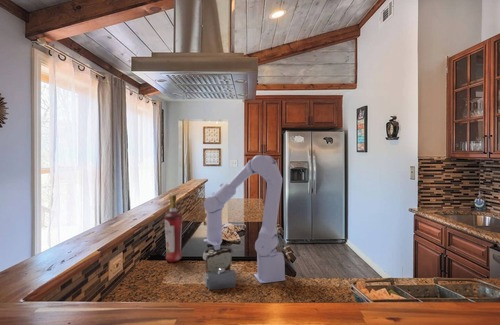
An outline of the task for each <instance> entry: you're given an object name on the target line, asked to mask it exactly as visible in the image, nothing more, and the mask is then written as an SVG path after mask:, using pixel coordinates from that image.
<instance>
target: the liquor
mask: <svg viewBox="0 0 500 325" xmlns="http://www.w3.org/2000/svg"><path fill="white" fill-rule="evenodd" d="M182 224H183V215H181V214H180V213H178V212H177V194H170V195H169V213H167V214H166V215H164V234H165V235H164V236H165V248H166V250H165V252H166V256H165V260H166V261H168V262H169V263H176V262H179V261H180V260H181V259H182V258H183V256H182V232H183V231H182V230H183V229H182V228H183V225H182Z"/></svg>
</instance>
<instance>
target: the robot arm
mask: <svg viewBox="0 0 500 325" xmlns="http://www.w3.org/2000/svg"><path fill="white" fill-rule="evenodd" d="M252 175H259V176H260V177H262V179H264V181H265V182H266V191H265V192H266V193H265V194H266V195H265V200H264V208H263V214H262V221H261V222H262V223H261V228H260V230H259V232H258V237H257V239H256V240H255V243H254V249H255V251H256V256H257V257H256V261H257V262H256V263H257V265H256V267H257V269H256V270H257V272H256V273H254V274H253V276H254V277H255V279H256V280H257V281H258V283H259V284H267V283H274V282H281V281H283V282H284V281H286V280H287V279H286V277H285V276H286V272H285V271H286V269H285V267H286V266H285V265H286V264H285V263H286V262H285V257H284V254H283V253H282V252H281V251H278V250H277V247H278V246H279V243H280V241H279V237H278V228H277V224H278V217H279V208H280V201H281V194H282V188H283V177H282V174H281V171H280V168H279V166H278V162H277V161H276V159H274V158H273V157H272V156H270V155H262V154H257V155H255V156H254V157H252V159H249V161H248V162H247V163H246V164H245V165H244V166H243V167H242V168H241V169H240V170H239V172H238V173H237V174H235V176H234V177H233V178H232V179H231V180H230V182H224V183H221V184H219V188H218V189H217V190H216V191H215V192H212V194H211V195H212V196H208V197H206V198H205V200H204V202H203V207H204V210H205V211H206V239H205V238H204V239H203V243H207V244H206V247H207V248H209V247H213V246H214V249H215V250H219V249H220V246H223V244H222V242H223V229H222V228H223V227H222V226H223V225H222V222H223V221H222V220H223V219H222V218H223V217H222V215H223V214H222V211H223V208H224V207H225V204H226V203H227V202H228V201H229V200H231V199H232V198H233V197H234V195H236V193H237V188H239V187H240V186H241V185H242V184H243V183H244V182H245V181H246V180H247V179H249V178H250V177H251V176H252Z"/></svg>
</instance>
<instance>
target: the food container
mask: <svg viewBox="0 0 500 325" xmlns="http://www.w3.org/2000/svg"><path fill="white" fill-rule="evenodd" d="M233 253H234V249H233V247H232V246H228V245H222V246H220V249H219V250H215V249H214V246H213V247H209V248H208V247H207V248H206V249H205V250H204V251H203V253H202V254H203V255H202V259H203V260H204V266H205V273H208V272H217V271H218V268H225V270H231V269H232V268H231V267H232V257H233Z"/></svg>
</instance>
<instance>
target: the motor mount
mask: <svg viewBox="0 0 500 325" xmlns="http://www.w3.org/2000/svg"><path fill="white" fill-rule="evenodd" d="M236 275H237V274H236V270H235V269H230V270H225V268H218V271H217V272H208V273H206V272H204V277H203V278H204V284H205V288H206V287H207V289H209V290H208V291H215V290H214V289H216V290H223V289H229V288H236V286H237V284H236V278H237V277H236Z"/></svg>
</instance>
